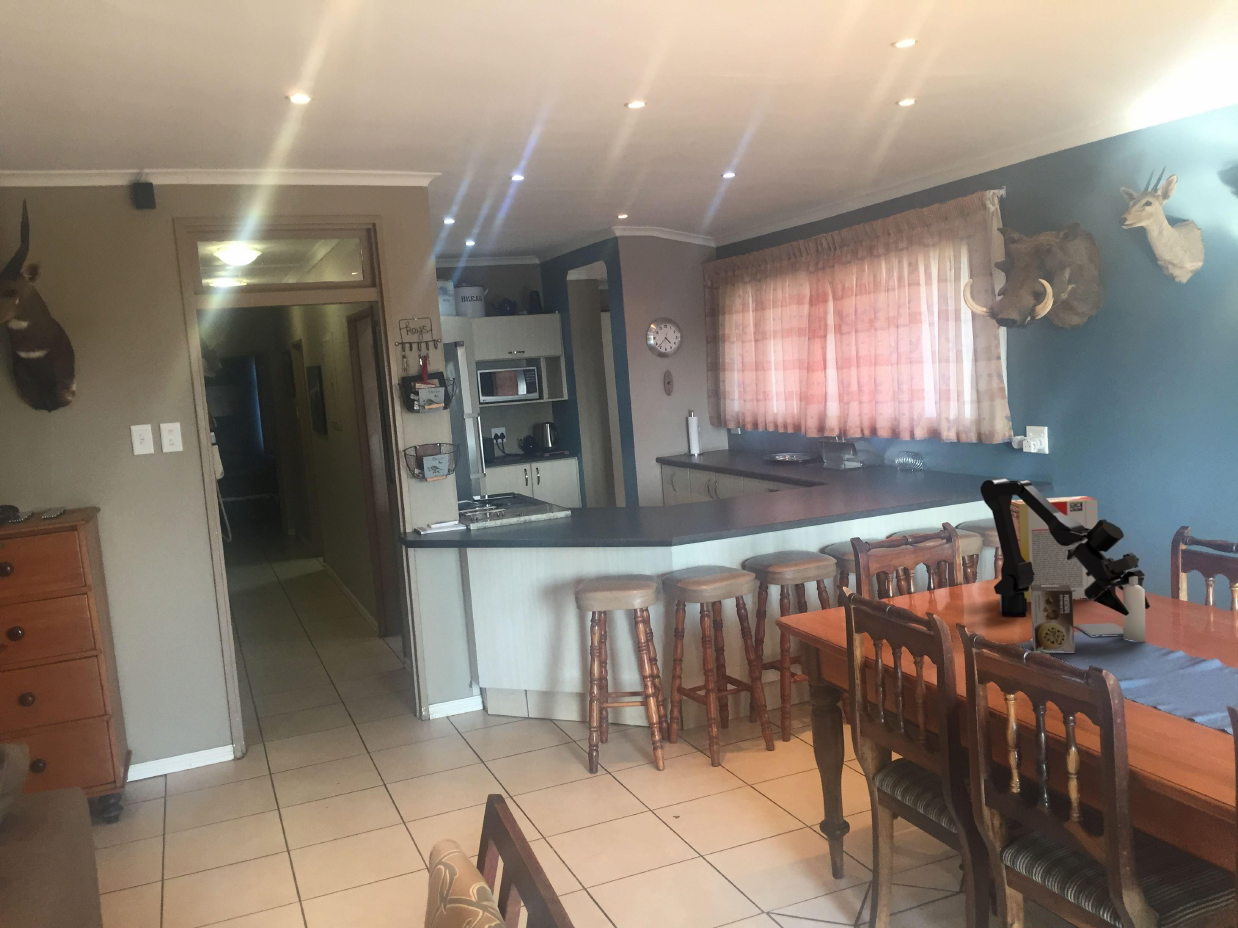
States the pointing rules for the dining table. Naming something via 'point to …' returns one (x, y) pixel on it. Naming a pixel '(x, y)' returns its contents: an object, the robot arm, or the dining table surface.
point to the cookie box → (1052, 618)
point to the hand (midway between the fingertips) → (1138, 611)
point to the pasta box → (1053, 543)
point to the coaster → (1101, 629)
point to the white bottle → (1134, 611)
